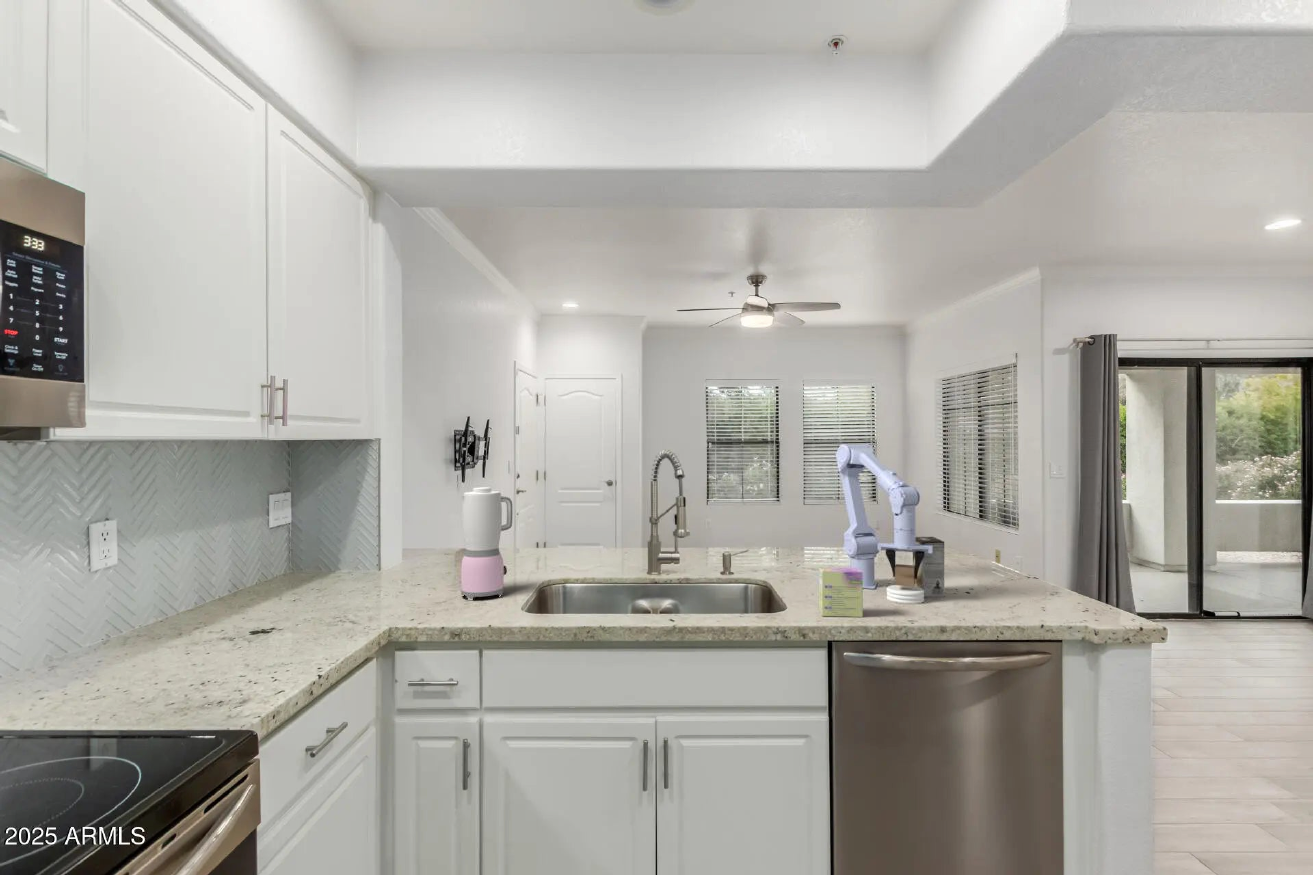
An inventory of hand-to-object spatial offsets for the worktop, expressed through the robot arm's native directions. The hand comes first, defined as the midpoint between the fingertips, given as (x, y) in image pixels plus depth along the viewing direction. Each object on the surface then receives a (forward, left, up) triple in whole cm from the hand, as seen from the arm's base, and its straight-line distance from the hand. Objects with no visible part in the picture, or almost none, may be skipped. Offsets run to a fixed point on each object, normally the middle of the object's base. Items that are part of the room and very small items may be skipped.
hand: (905, 577), depth 187 cm
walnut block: (0, 0, -2) cm, 2 cm away
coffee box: (-11, +6, -7) cm, 14 cm away
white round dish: (0, 0, -7) cm, 7 cm away
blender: (+38, -115, -7) cm, 121 cm away
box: (+22, -15, -7) cm, 27 cm away
